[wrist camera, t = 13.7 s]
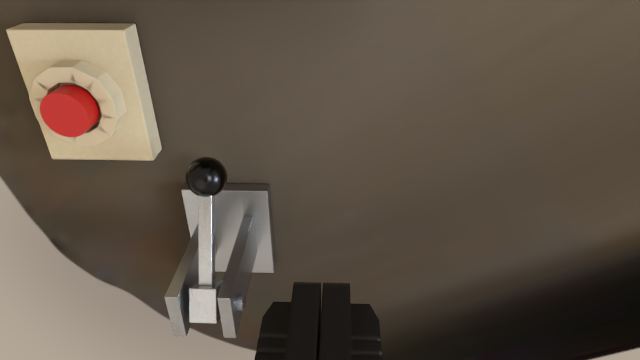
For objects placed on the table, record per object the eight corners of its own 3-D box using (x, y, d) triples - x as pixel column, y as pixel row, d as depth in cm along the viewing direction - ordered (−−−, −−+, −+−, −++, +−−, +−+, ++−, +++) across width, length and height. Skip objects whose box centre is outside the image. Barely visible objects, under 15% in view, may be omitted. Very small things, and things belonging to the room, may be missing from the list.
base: (184, 182, 43) (136, 268, 33) (269, 183, 42) (246, 271, 32) (200, 262, 48) (162, 358, 38) (275, 264, 48) (257, 361, 37)
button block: (22, 22, 35) (-11, 35, 32) (135, 23, 35) (113, 36, 32) (65, 147, 41) (39, 169, 38) (162, 149, 41) (146, 171, 37)
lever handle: (192, 156, 37) (179, 157, 34) (231, 157, 37) (221, 157, 34) (194, 310, 38) (180, 324, 35) (231, 311, 38) (221, 326, 35)
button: (46, 84, 34) (32, 92, 33) (92, 84, 34) (81, 92, 33) (60, 127, 36) (48, 137, 35) (104, 128, 36) (94, 137, 34)
